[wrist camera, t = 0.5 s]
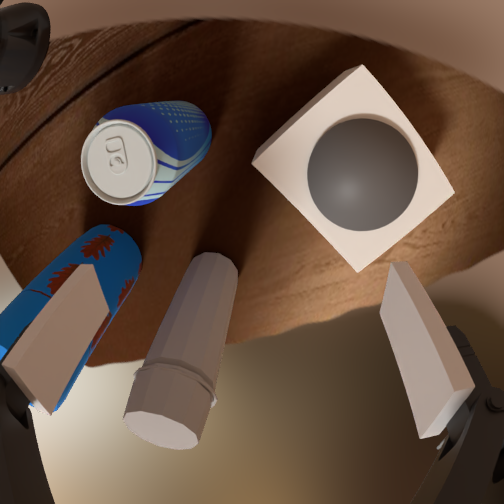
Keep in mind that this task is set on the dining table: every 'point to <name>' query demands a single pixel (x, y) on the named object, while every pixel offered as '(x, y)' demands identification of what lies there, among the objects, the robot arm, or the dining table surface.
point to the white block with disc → (355, 167)
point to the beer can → (144, 150)
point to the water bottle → (185, 357)
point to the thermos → (60, 269)
